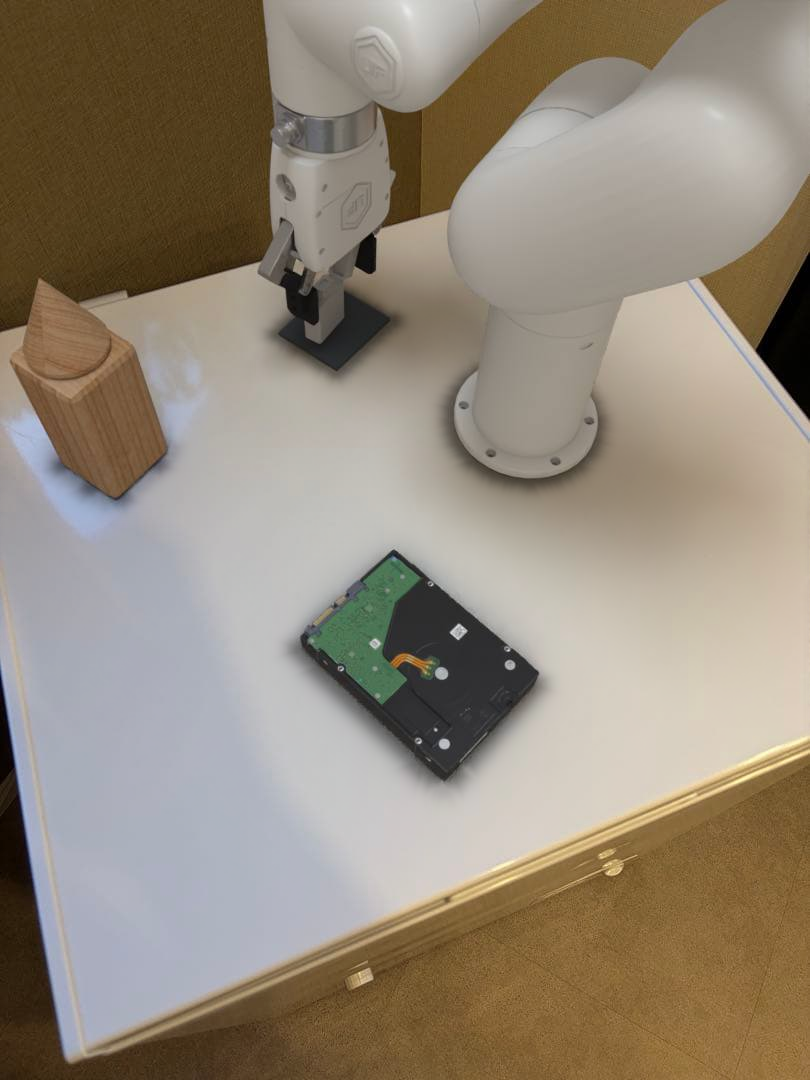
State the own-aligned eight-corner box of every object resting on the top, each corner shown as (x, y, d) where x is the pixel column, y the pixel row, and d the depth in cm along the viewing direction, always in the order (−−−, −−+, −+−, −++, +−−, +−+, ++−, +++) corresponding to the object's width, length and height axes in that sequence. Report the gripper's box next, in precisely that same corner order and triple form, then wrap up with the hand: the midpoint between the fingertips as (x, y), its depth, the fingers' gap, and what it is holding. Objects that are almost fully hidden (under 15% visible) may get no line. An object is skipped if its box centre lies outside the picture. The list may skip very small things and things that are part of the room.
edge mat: (333, 286, 86) (333, 283, 86) (390, 320, 84) (390, 317, 84) (278, 334, 83) (278, 331, 82) (336, 371, 81) (336, 368, 80)
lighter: (320, 344, 80) (316, 277, 73) (304, 336, 81) (298, 269, 74) (362, 296, 83) (362, 228, 77) (346, 289, 84) (345, 220, 77)
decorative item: (115, 413, 77) (42, 229, 60) (172, 450, 76) (114, 271, 58) (58, 463, 75) (-35, 285, 57) (116, 503, 73) (38, 332, 56)
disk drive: (536, 684, 66) (391, 562, 71) (543, 670, 64) (392, 545, 69) (445, 785, 62) (297, 649, 67) (448, 774, 60) (295, 634, 64)
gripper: (285, 193, 59) (301, 369, 75) (438, 74, 67) (424, 257, 82) (202, 146, 61) (234, 327, 77) (360, 35, 69) (360, 221, 84)
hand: (332, 289), depth 79 cm, fingers closed on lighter, 7 cm apart
